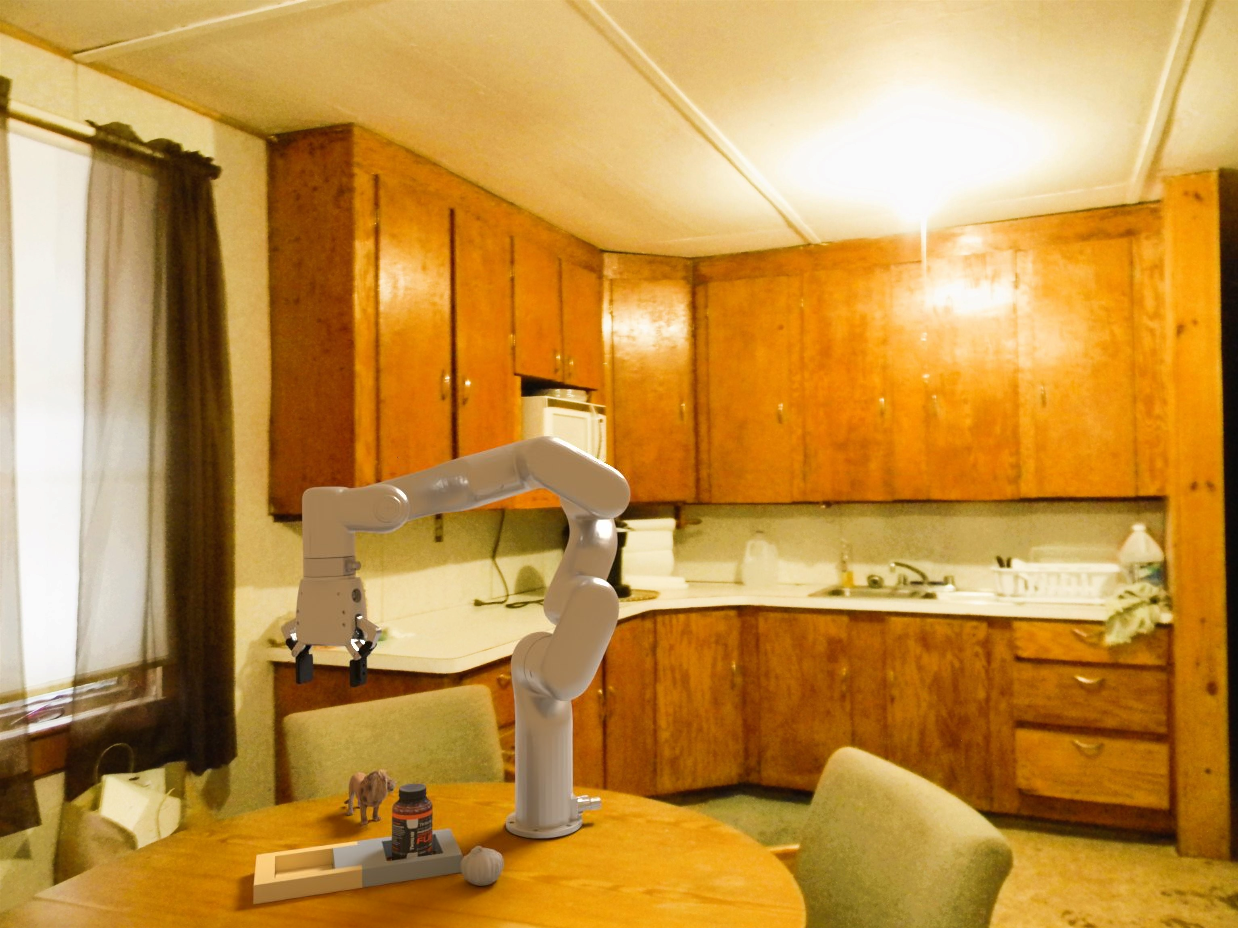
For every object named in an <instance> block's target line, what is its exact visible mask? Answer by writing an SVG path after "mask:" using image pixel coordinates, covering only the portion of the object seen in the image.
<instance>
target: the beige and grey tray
mask: <svg viewBox="0 0 1238 928" xmlns="http://www.w3.org/2000/svg"><path fill="white" fill-rule="evenodd" d="M434 851H435V854H432V855H428V856H421V857H414V858H407V859H400V860H394V861H392V860H389V861H388V859H387V858H392V835H391V836H385V837H377V838H370V839H363V840H355V841H349V842H340V843H334V844H333V843H332V844H327V845H319V846H318V845H317V846H311V847H305V848H304V847H303V848H296V849H290V850H283V851H282V850H281V851H276V852H268V853H261V854H256V859H255V869H254V878H253V879H254V880H253V897H252V898H253V903H252V904H253V905H257V904H264V903H265V904H266V903H270V902H278V901H283V900H292V899H295V898H304V897H310V896H315V895H323V894H329V893H334V892H335V893H336V892H342V891H348V890H355V889H360V888H361V889H362V888H363V889H364V888H367V887H368V888H370V887H375V886H381V885H387V884H388V885H389V884H394V883H395V884H396V883H400V882H408V881H413V880H420V879H427V878H432V877H434V878H435V877H441V876H447V875H452V874H459V873H461V868H460V864H461V861H462V859H463V857H464V856H463V852H462V850H461V849H460V846H459V845H458V843H457V840H456V837H455V836H454V834H453V832H452V829H451V828H444V829H443V828H442V829H436V830H432V852H434Z"/></svg>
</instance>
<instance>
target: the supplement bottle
mask: <svg viewBox="0 0 1238 928" xmlns="http://www.w3.org/2000/svg"><path fill="white" fill-rule="evenodd" d="M397 796H398V798H399V799H397V800H396V801H395V802H393V803H394V804H393V805H392V807H391V808H392V809H391V836H392V857H391V861H394V860H400V859H407V858H414V857H421V856H428V855H433V851H432V831H433V826H434V825H433V821H434V820H433V819H434V818H433V814H434V811H433V810H434V809H433V807H434V806H433V802H432V801H431V800H430V799H429V797H428V796H427V785H426V784H423V783H417V782H415V783H407V784H403V785H400V787H399V788H398V795H397Z"/></svg>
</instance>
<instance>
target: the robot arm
mask: <svg viewBox="0 0 1238 928" xmlns="http://www.w3.org/2000/svg"><path fill="white" fill-rule="evenodd" d="M538 489H546V490H547V491H549V492H550V493H553V494H555V495H557V497H558V499H559V503H560V505H561V509H562V510H563V512H564V514H565V515H566V519H567V521H568V526H569V527H568V528H569V537H568V541H567V545H566V547H565V550H564V553H563V555H562V558H561V560H560V562H559V564H558V566H557V569H556V571H555V573H554V575H553V577H552V579H551V582H550V583H549V586H548V588H547V590H546V593H545V595H544V598H543V602H542V603H543V604H542V606H543V607H542V608H543V613H544V616H545V618H547V621H549V622H550V623H551V624H552V625H554V626H555V627H554V630H553V632H552V633H551V632H547V631H535V632H531V633H529V634H527V635H525V636H523V637H522V638H521V639H520V640H519V641H518V642H517V644H516V645H515V647H514V649H513V651H512V655H511V660H510V674H511V684H512V688H513V689H512V690H513V697H514V698H513V699H514V715H515V716H514V717H515V719H514V720H515V721H514V722H515V726H514V727H515V728H514V729H515V731H514V747H515V748H514V750H515V751H514V759H515V760H514V761H515V762H514V765H515V766H514V767H515V768H514V769H515V773H514V774H515V777H514V778H515V782H514V783H515V786H514V787H515V788H514V789H515V790H514V792H515V794H514V795H515V796H514V797H515V798H514V800H515V801H514V802H515V803H514V804H515V806H514V807H515V811H513V812H511V813H510V814H508V816H507V817H506V819H505V828H506V829H507V831H508V832H510V833H511V834H513V835H516V836H519V837H523V838H527V839H529V838H530V839H551V838H552V839H553V838H558V837H559V838H560V837H563V836H567V835H570V834H572V833H574V832H577V831H578V830H579V829H580V828H581V827H582V825H583V815H582V814H583V813H584V811H594V810H600V809H601V808H602V799H601V797H600V796H595V797H589V795H588V794H586V795H580V796H576V794H575V793H574V788H573V787H574V784H573V782H574V781H573V780H574V779H573V774H574V773H573V771H574V769H573V764H574V763H573V760H574V759H573V729H574V728H573V727H574V725H573V719H574V718H573V706H572V700H575V699H576V698H578V697H579V696H581V695H583V694H584V693H585V692H586V690H587V689H588V687H589V686H590V685H591V683H592V681H593V679H594V678H595V676H596V674H597V671H598V669H599V667H600V665H601V662H602V660H603V657H604V655H605V653H606V651H607V648H608V646H609V643H610V641H611V639H612V636H613V634H614V632H615V630H616V627H617V624H618V620H619V614H620V602H619V601H620V600H619V596H618V594H617V592H616V590H615V588H614V587H613V586H612V585H611V584H610V583H609V582H608V581H607V579H608V577H609V575H610V572H611V569H612V567H613V563H614V562H615V558H616V554H617V550H618V531H617V527H616V523H615V518H618V517H619V516H621V515H622V514H623V513H624V512H625V511H626V510H627V508H628V506H629V503H630V502H631V488H630V485H629V483H628V481H627V479H626V478H625V477H624V475H623V474H622V473H621V472H620V471H618V470H617V469H615V468H614V467H612V466H610V465H608V464H607V463H605V462H603V461H601V460H599V459H597V458H595V457H594V456H592V455H590V454H589V453H586V452H585V451H583V450H581V449H580V448H577V447H576V446H574V445H572V444H570V443H569V442H567V441H564V440H562V439H561V438H558V437H555V436H552V435H551V436H550V435H549V436H547V435H545V436H544V435H543V436H539V437H533V438H527V439H524V440H520V441H516V442H515V441H514V442H512V443H508V444H504V445H502V446H501V445H500V446H497V447H495V448H490V449H487V450H484V451H481V452H476V453H471V454H469V455H465V456H461V457H458V458H455V459H454V458H453V459H451V460H448V461H446V462H445V461H444V462H442V463H440V464H437V465H434V466H431V467H429V468H426V469H423V470H420V471H419V470H418V471H416V472H413V473H409V474H407V475H402V476H399V477H394V478H392V479H387V480H384V481H381V482H377V483H373V484H368V485H366V486H361V487H352V488H350V487H345V486H319V487H318V486H316V487H310V488H307V489H306V490H304V492H303V494H302V497H301V498H302V499H301V508H302V509H301V511H302V513H301V514H302V516H301V517H302V518H301V519H302V521H301V522H302V523H301V524H302V526H301V527H302V578H300V580H299V585H298V591H297V596H296V597H297V598H296V607H295V617H294V618H293V619H292V620H289V621H288V622H287V623H285V624H284V625H282V626H281V628H280V630H281V633H282V635H283V638H284V640H285V645H286V646H287V647H288V649H289V650H290V653H291V656H292V658H295V660H294V661H295V684H296V685H303V684H305V683H309V682H312V681H313V680H314V656H313V653H310V652H311V651H312V649H313V648H314V647H315V646H316V647H317V646H318V647H345V649H346V650H347V651H348V653H349V654H350V655H351V658H353V659H350V660H349V663H348V665H349V667H348V669H349V686H350V687H351V688H358V687H361V686H363V685H365V684H367V680H368V679H367V678H368V657H370V656H371V655H372V652H373V651H374V649H376V647H377V645H378V642H379V639H380V637H381V634H382V632H383V631H382V628H381V627H380V626H377V625H376V624H374V623H373V622H371V621H370V620H368V611H367V604H366V603H367V602H366V601H367V600H366V596H365V590H364V585H363V582H362V578H361V577H359V576H357V572H356V571H359V570H361V568H362V565H361V561H359V560H358V561H357V560H356V559H357V558H356V557H357V556H356V533H357V532H360V533H361V532H362V533H371V534H372V533H373V534H379V535H380V534H382V535H383V534H390V533H393V532H395V531H397V530H398V529H400V528H402V527H403V526H404V525H405V524H406V523H407V522H410V521H413V520H416V519H420V518H425V517H429V516H433V515H439V514H446V513H456V512H463V511H468V510H472V509H476V508H480V507H482V506H486V505H490V504H493V503H495V502H499V501H502V500H506V499H508V498H511V497H515V496H518V495H521V494H525V493H527V492H532V491H534V490H538Z"/></svg>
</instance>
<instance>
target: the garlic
mask: <svg viewBox="0 0 1238 928" xmlns="http://www.w3.org/2000/svg"><path fill="white" fill-rule="evenodd" d="M502 855H503V854H501V853H500V852H498V851H496V850H495V849H492V848H487V847H482V846H481V845H476V846H475V847H474V848H471V850H470V852H469V853H468V854H466V855H464V856H463V859H462V861H461V864H460V868H461V872H460V873H461V875H462V877H463V878H464V880H466V882H469V883H470V884H472V885H474V886H479V887H484V886H490V885H491V884H493V883H494V882H496V881H497V880H498V879H499V877H500V876H501V875H502V873H503V869H504V857H503V856H502Z"/></svg>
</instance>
